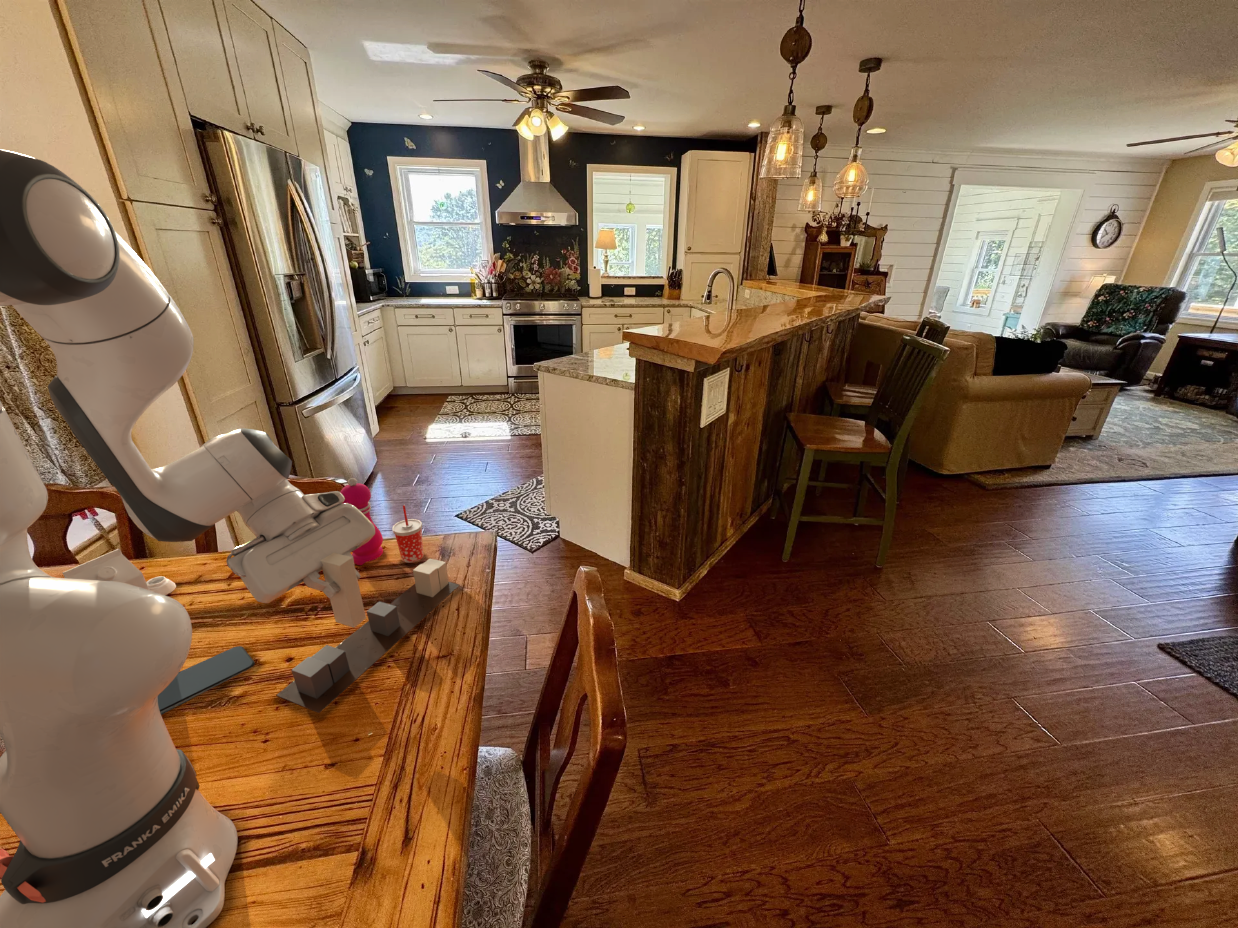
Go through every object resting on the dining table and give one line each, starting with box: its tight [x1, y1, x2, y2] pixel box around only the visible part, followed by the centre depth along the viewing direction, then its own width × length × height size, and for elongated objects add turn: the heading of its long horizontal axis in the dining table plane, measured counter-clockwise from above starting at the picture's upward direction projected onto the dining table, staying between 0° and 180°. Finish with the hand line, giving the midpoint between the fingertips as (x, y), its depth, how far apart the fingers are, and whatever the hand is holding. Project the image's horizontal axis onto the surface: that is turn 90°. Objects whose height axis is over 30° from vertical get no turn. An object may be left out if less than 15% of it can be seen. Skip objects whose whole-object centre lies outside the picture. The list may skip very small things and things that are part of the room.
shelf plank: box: [276, 581, 461, 714], centre depth 89 cm, size 34×9×1 cm, turn 160°
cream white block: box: [412, 558, 450, 597], centre depth 100 cm, size 5×4×6 cm
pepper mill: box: [339, 477, 384, 566], centre depth 108 cm, size 7×7×20 cm
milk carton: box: [61, 548, 149, 590], centre depth 81 cm, size 7×7×19 cm
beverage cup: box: [391, 504, 425, 563], centre depth 109 cm, size 6×6×14 cm
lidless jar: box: [146, 575, 177, 596], centre depth 99 cm, size 5×3×5 cm
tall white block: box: [320, 553, 367, 629], centre depth 80 cm, size 2×4×12 cm, turn 70°
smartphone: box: [158, 645, 255, 715], centre depth 78 cm, size 8×2×15 cm
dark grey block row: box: [290, 601, 400, 699], centre depth 83 cm, size 18×4×4 cm, turn 160°
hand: (346, 587), depth 79 cm, fingers closed on tall white block, 2 cm apart
